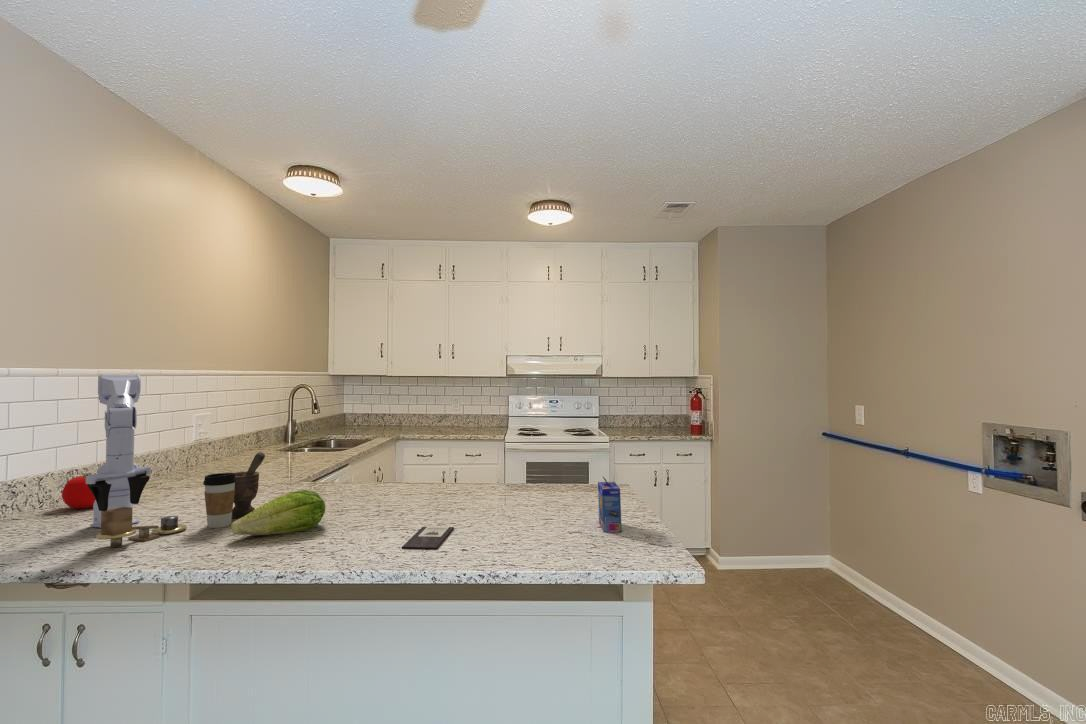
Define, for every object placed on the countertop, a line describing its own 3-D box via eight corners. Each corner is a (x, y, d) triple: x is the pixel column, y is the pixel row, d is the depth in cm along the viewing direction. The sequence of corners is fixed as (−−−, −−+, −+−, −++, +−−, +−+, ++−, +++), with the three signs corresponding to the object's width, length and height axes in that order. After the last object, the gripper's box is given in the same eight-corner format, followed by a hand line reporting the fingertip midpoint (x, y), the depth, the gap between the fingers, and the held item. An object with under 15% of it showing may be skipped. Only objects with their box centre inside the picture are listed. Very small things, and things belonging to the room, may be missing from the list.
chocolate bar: (401, 546, 135) (422, 526, 153) (401, 550, 135) (422, 529, 153) (436, 547, 135) (453, 527, 153) (436, 551, 135) (453, 530, 153)
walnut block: (100, 534, 136) (101, 510, 136) (119, 529, 140) (119, 506, 140) (113, 535, 135) (114, 511, 135) (132, 530, 139) (132, 507, 139)
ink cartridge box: (597, 522, 159) (597, 473, 159) (615, 522, 159) (615, 473, 160) (602, 532, 149) (602, 480, 150) (622, 532, 149) (621, 480, 150)
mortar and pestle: (273, 511, 172) (273, 449, 173) (260, 518, 164) (261, 453, 164) (235, 512, 171) (236, 449, 172) (221, 519, 163) (222, 453, 163)
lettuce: (220, 517, 147) (231, 495, 140) (309, 496, 165) (323, 477, 158) (231, 558, 142) (243, 538, 135) (321, 532, 160) (336, 513, 153)
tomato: (51, 511, 173) (52, 476, 173) (92, 501, 186) (92, 469, 186) (82, 512, 171) (83, 478, 171) (121, 503, 184) (122, 470, 184)
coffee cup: (220, 530, 152) (221, 476, 152) (195, 528, 153) (196, 475, 154) (242, 522, 160) (243, 471, 160) (218, 520, 162) (219, 470, 162)
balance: (88, 549, 135) (88, 533, 135) (172, 526, 156) (172, 512, 156) (110, 552, 132) (110, 536, 132) (193, 528, 153) (193, 514, 153)
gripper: (100, 459, 131) (98, 515, 130) (159, 451, 144) (158, 501, 144) (80, 457, 133) (79, 512, 132) (140, 449, 146) (139, 499, 146)
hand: (119, 507), depth 138 cm, fingers open, 7 cm apart
